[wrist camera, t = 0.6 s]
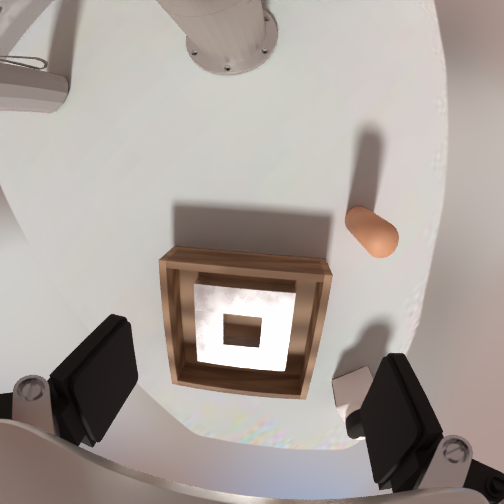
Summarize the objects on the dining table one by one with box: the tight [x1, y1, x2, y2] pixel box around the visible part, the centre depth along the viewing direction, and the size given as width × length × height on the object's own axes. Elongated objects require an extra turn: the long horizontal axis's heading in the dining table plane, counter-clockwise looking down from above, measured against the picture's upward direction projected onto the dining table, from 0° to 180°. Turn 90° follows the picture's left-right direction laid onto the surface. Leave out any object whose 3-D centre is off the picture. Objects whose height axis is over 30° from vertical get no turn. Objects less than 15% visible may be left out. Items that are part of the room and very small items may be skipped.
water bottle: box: [0, 56, 68, 113], centre depth 23 cm, size 9×8×25 cm
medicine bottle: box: [332, 366, 373, 440], centre depth 41 cm, size 7×7×12 cm
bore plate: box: [194, 277, 296, 371], centre depth 42 cm, size 14×14×2 cm
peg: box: [345, 206, 399, 258], centre depth 33 cm, size 4×4×10 cm
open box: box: [159, 246, 333, 399], centre depth 41 cm, size 22×22×6 cm
